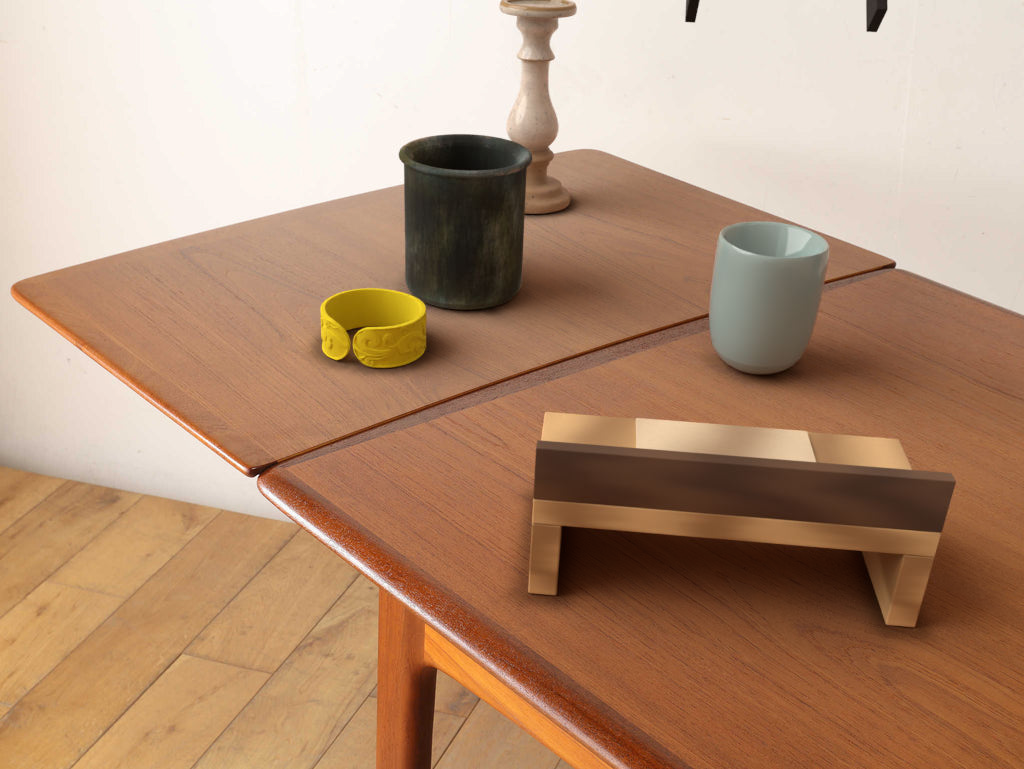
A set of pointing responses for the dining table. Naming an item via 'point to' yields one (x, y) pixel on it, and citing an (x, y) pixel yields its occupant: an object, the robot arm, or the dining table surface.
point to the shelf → (741, 494)
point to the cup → (765, 294)
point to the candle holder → (537, 99)
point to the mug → (464, 219)
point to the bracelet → (374, 345)
